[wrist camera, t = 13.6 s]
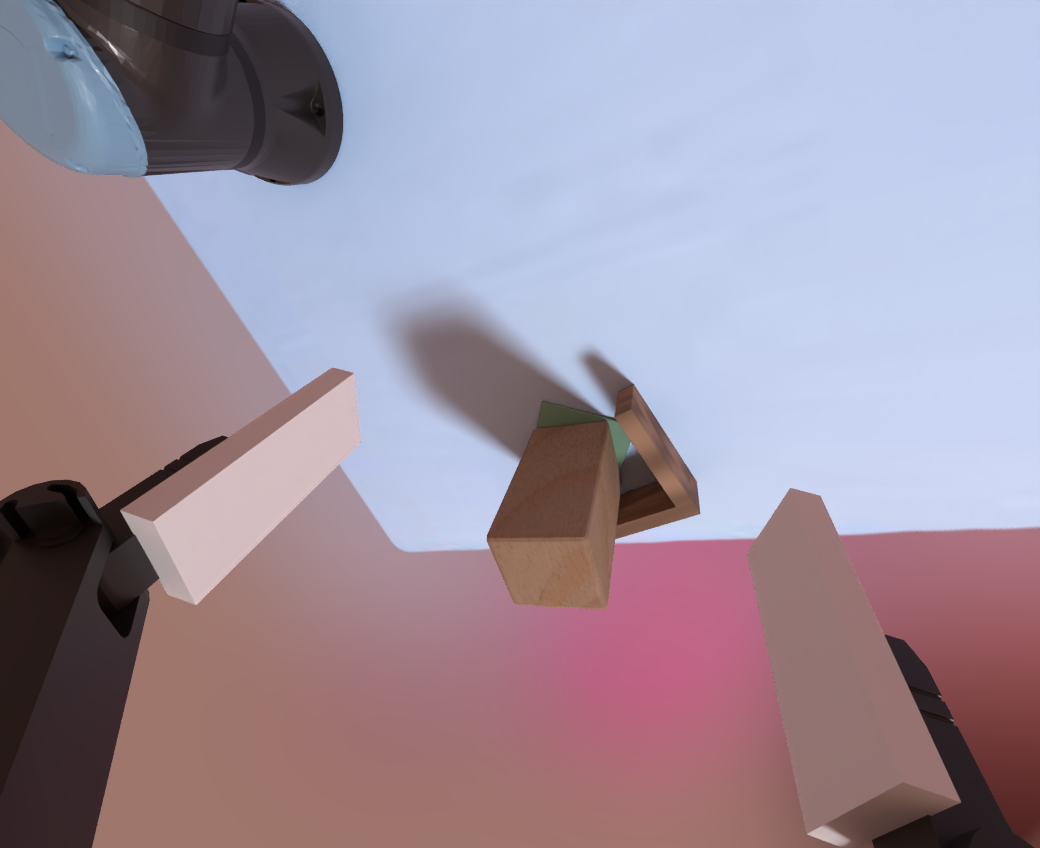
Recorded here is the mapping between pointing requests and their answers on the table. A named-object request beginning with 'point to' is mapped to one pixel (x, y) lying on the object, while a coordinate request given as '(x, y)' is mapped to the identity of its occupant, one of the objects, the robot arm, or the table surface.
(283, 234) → the table surface
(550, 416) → the pad
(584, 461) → the wooden block
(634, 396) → the wooden corner bracket
